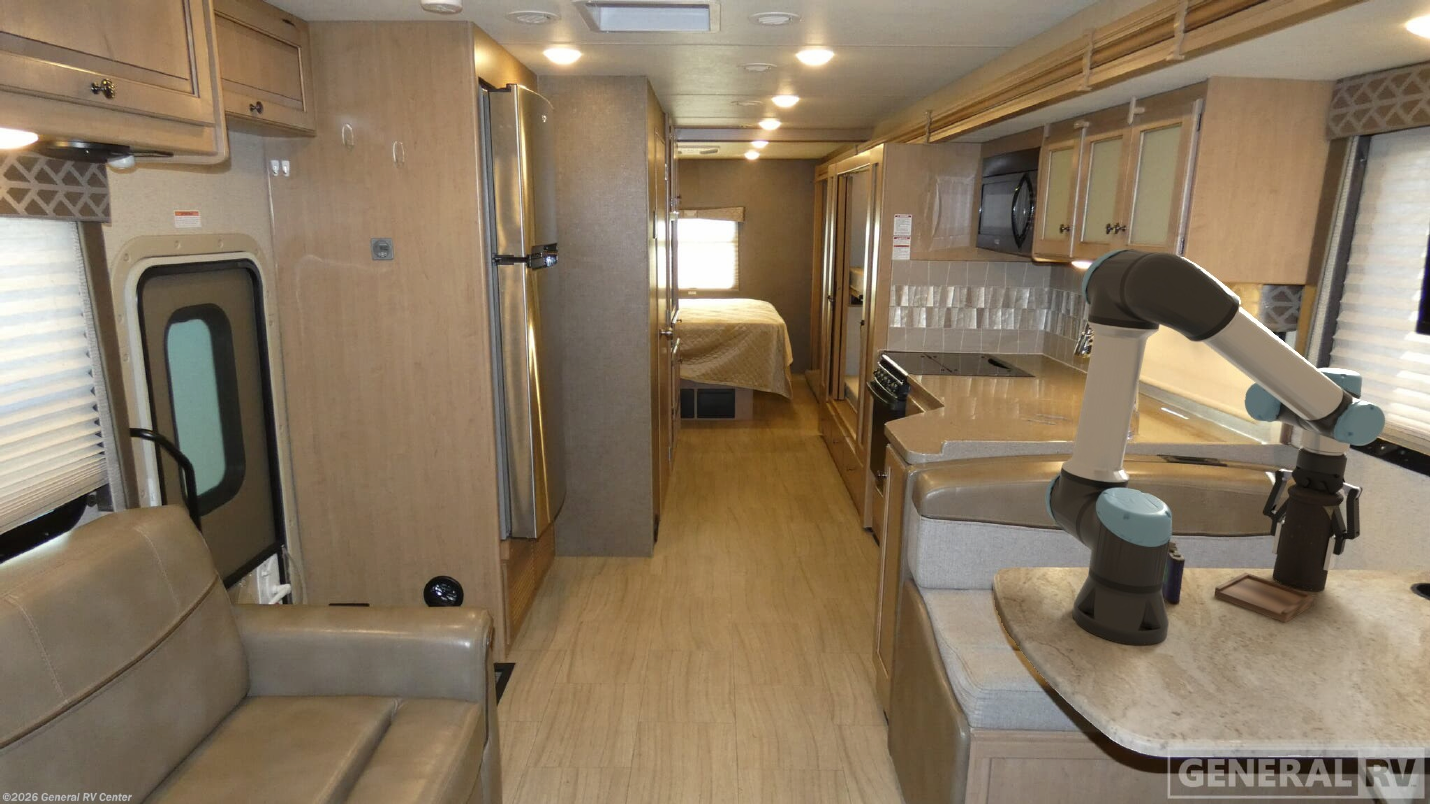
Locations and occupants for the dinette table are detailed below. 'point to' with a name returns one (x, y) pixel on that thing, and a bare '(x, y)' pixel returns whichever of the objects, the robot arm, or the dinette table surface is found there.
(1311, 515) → the container
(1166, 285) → the robot arm
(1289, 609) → the square wooden tray
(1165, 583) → the flask
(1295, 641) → the dinette table surface
